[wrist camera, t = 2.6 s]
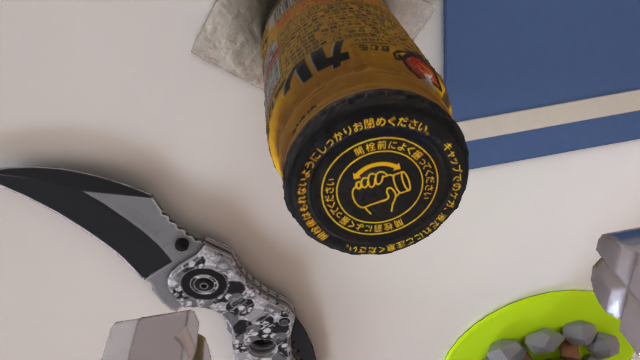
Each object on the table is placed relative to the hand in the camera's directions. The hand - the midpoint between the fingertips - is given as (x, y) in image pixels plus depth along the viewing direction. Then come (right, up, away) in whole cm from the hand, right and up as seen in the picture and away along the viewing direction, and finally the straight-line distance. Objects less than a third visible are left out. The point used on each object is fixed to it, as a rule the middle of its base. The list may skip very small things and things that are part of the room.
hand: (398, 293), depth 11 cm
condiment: (-2, +9, +13) cm, 16 cm away
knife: (-9, -6, +23) cm, 25 cm away
